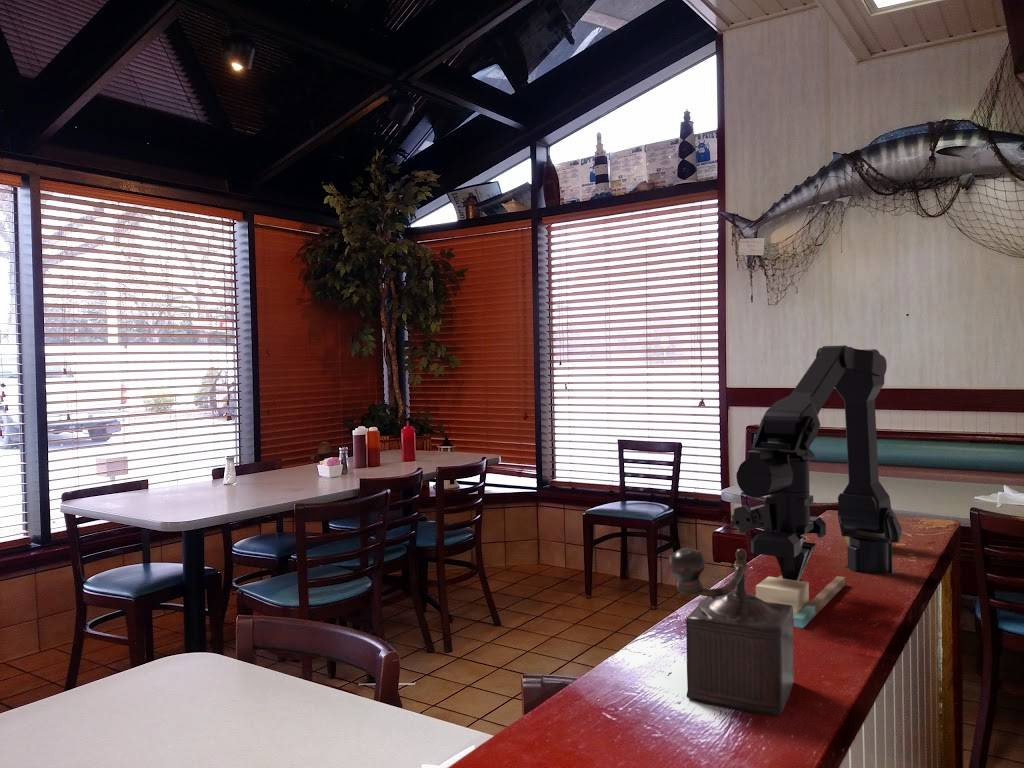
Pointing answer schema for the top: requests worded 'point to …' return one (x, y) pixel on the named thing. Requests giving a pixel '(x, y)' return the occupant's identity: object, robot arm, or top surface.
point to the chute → (818, 602)
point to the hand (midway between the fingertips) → (790, 590)
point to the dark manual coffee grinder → (735, 641)
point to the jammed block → (784, 592)
